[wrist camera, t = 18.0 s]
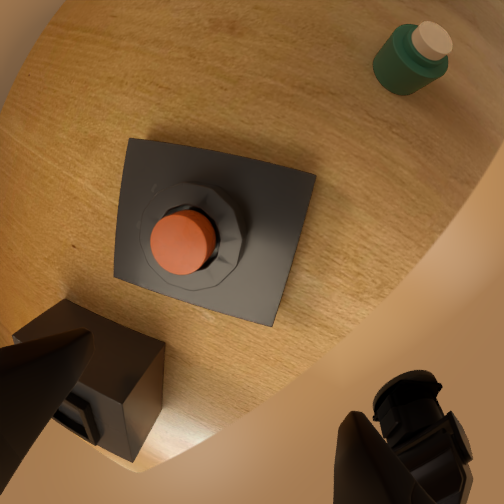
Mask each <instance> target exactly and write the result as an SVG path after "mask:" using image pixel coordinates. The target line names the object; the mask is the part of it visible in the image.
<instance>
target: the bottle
mask: <svg viewBox="0 0 504 504" xmlns="http://www.w3.org/2000/svg"><path fill="white" fill-rule="evenodd" d="M452 48H453V43H452V40H451V38H450V36H449V34H448V33H447V32H446V31H445V30H444V29H443V28H442V27H441V26H440V25H438V24H436V23H434V22H431V21H425V22H422V23H421V24H420V25H419V26H417V25H413V24H405V25H401V26H399V27H398V28H396V29H395V31H394V32H393V33H392V35H391V36H390V37H389V39H388V40H387V41H386V43H385V44H384V45H383V47H382V48H381V50H380V51H379V52H378V54H377V55H376V56H375V58H374V61H373V70H374V73H375V76H376V77H377V79H378V81H379V82H380V83H381V84H382V85H383V86H384V87H385V88H386V89H387V90H389V91H391V92H393V93H395V94H398V95H409V94H412V93H414V92H415V91H417V90H419V89H421V88H422V87H424V86H426V85H427V84H429V83H431V82H432V81H434V80H436V79H438V78H439V77H441V76H443V75H444V74H445V72H446V71H447V68H448V57H447V54H449V53H450V52H451V51H452Z"/></svg>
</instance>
